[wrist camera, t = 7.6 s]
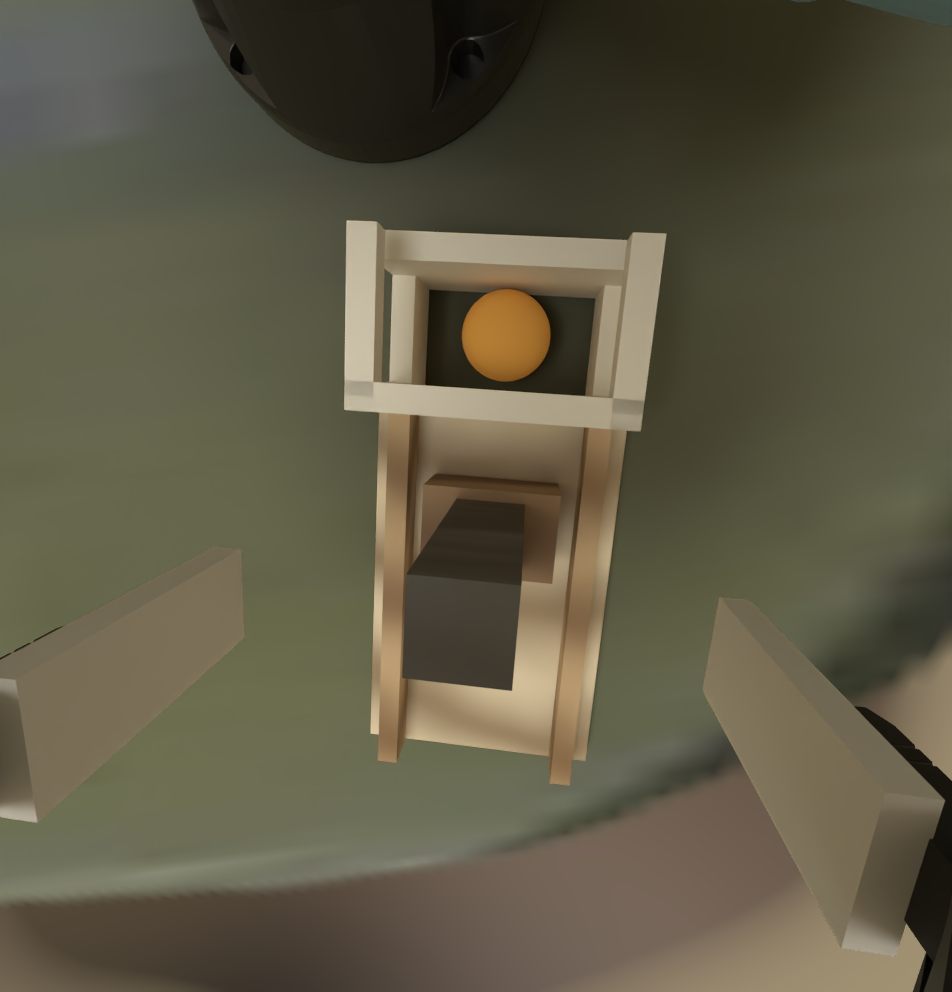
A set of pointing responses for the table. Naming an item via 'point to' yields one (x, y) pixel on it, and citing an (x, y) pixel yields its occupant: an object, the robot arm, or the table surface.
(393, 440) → the tray
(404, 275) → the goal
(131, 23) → the table surface
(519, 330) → the ball
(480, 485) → the sled
